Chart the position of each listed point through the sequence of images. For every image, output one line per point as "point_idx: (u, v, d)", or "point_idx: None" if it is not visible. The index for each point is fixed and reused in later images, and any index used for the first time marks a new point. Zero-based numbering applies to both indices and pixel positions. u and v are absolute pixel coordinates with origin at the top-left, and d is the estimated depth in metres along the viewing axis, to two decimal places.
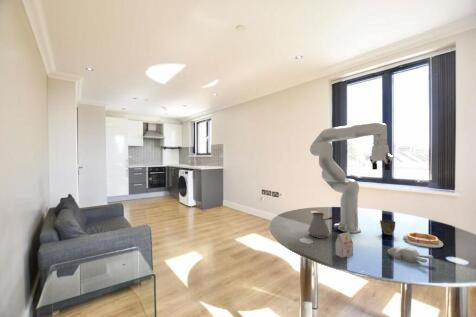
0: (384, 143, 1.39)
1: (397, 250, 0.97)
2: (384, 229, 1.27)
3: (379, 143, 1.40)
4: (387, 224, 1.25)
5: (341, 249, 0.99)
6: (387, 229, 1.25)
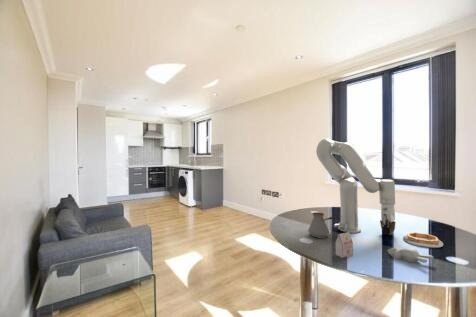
0: None
1: (397, 250, 0.97)
2: None
3: None
4: None
5: (341, 249, 0.99)
6: None
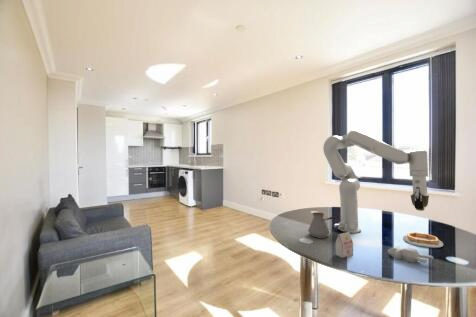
0: None
1: (397, 250, 0.97)
2: None
3: None
4: None
5: (341, 249, 0.99)
6: None
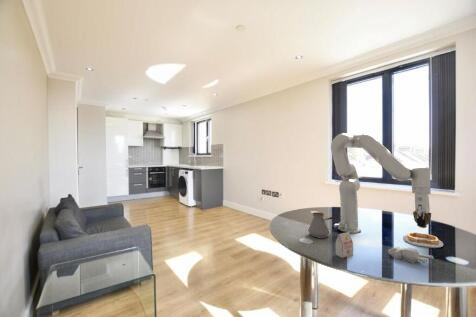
0: None
1: (397, 250, 0.97)
2: None
3: None
4: None
5: (341, 249, 0.99)
6: None
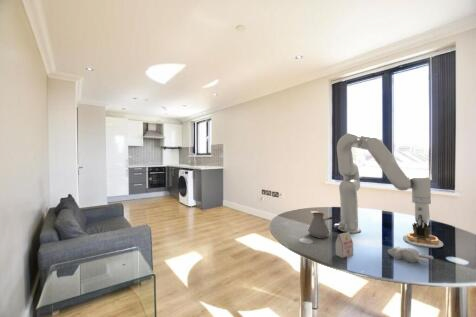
0: None
1: (397, 250, 0.97)
2: None
3: None
4: None
5: (341, 249, 0.99)
6: None
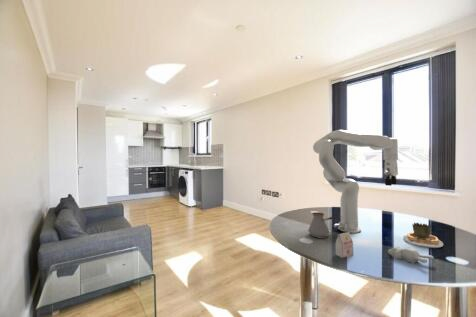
0: None
1: (398, 250, 0.97)
2: (418, 234, 1.14)
3: None
4: (422, 228, 1.13)
5: (341, 249, 0.99)
6: (422, 234, 1.13)
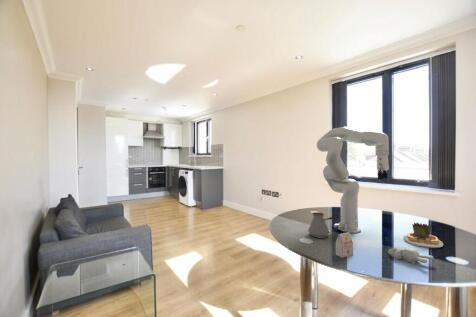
0: None
1: (397, 250, 0.97)
2: (418, 234, 1.14)
3: None
4: (422, 228, 1.13)
5: (341, 249, 0.99)
6: (422, 234, 1.13)
